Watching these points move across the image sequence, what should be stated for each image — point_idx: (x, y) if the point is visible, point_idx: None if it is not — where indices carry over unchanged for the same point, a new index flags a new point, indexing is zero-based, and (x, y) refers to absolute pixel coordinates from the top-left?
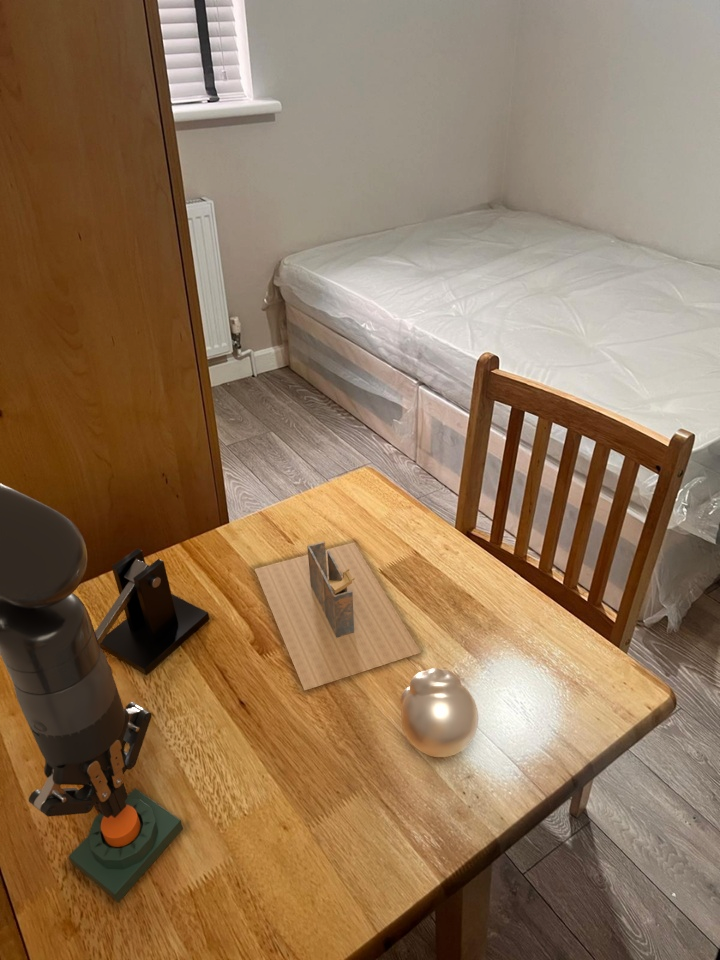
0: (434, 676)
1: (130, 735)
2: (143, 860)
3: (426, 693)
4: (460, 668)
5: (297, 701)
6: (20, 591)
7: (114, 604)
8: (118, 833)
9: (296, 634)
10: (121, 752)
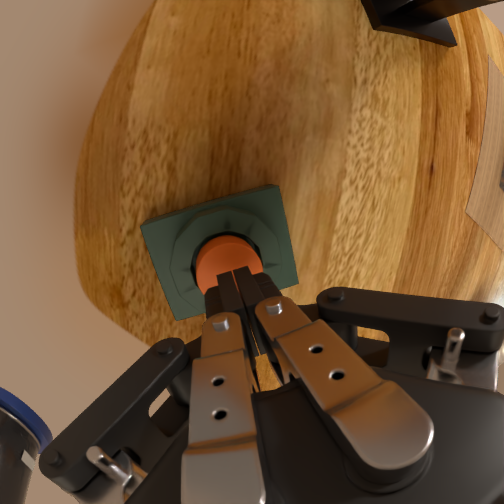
0: None
1: (413, 365)
2: None
3: (501, 355)
4: (501, 285)
5: (456, 217)
6: None
7: None
8: None
9: (489, 148)
10: (350, 328)
